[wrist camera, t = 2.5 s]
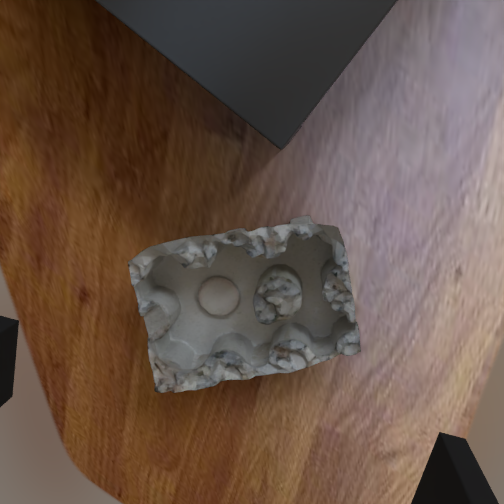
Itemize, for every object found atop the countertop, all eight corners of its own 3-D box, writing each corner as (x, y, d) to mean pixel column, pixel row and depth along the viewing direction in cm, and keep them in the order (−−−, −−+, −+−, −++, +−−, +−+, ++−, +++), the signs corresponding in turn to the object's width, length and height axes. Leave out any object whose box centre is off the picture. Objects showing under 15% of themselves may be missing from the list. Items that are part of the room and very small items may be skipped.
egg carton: (169, 359, 26) (144, 400, 22) (141, 232, 24) (109, 252, 20) (357, 342, 25) (366, 383, 21) (342, 205, 23) (349, 221, 19)
